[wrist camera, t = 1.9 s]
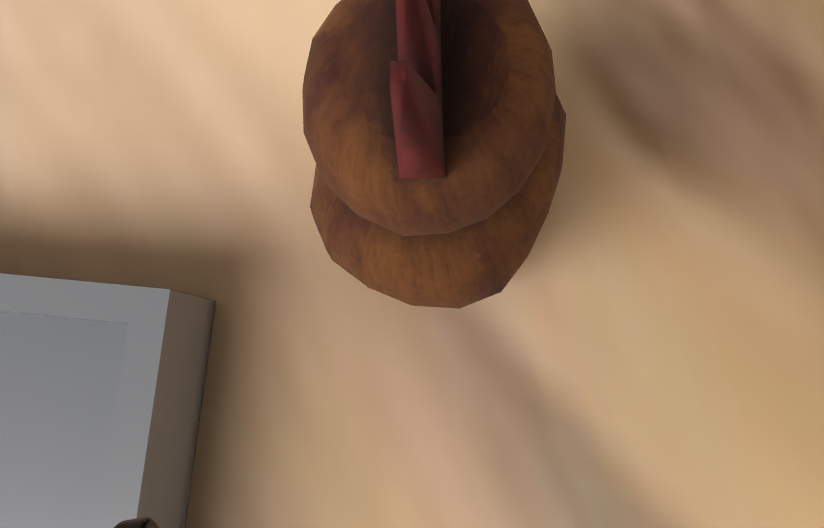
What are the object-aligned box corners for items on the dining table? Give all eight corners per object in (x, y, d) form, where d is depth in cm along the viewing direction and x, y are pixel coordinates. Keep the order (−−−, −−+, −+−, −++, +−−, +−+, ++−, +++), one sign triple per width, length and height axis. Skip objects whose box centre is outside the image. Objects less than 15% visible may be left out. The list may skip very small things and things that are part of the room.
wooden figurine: (492, 346, 22) (542, 297, 7) (320, 277, 23) (38, 101, 8) (570, 146, 23) (764, -284, 8) (401, 85, 23) (283, -412, 8)
